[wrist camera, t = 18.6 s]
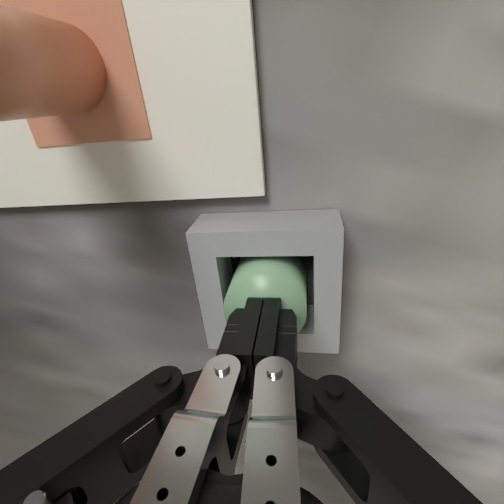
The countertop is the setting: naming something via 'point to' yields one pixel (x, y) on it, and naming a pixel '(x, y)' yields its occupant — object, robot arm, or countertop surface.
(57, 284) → the countertop surface
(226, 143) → the white square board
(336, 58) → the countertop surface
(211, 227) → the button housing
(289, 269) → the button
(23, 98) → the ball
